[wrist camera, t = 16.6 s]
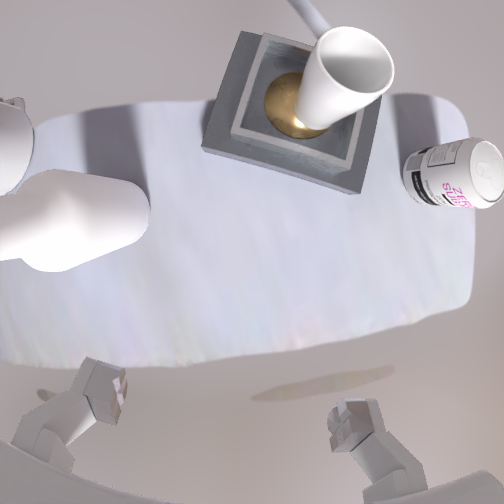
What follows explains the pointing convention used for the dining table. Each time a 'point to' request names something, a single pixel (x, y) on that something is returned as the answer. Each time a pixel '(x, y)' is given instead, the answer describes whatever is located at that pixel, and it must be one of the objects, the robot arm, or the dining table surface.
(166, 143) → the dining table surface
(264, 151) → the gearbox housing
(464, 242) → the dining table surface
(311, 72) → the drinking glass
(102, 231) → the white bottle
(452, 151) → the supplement can
